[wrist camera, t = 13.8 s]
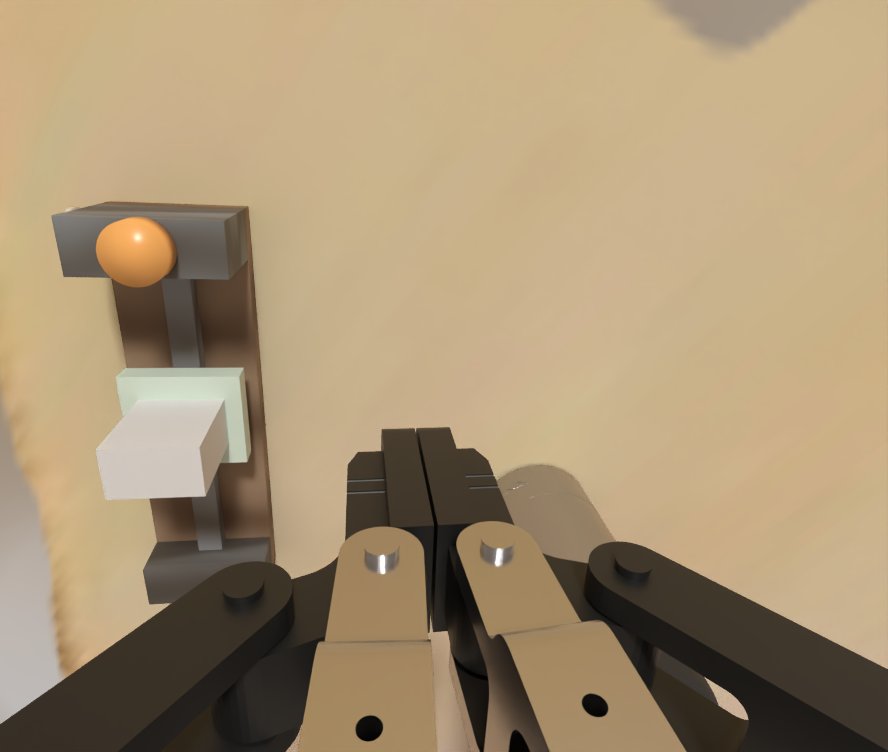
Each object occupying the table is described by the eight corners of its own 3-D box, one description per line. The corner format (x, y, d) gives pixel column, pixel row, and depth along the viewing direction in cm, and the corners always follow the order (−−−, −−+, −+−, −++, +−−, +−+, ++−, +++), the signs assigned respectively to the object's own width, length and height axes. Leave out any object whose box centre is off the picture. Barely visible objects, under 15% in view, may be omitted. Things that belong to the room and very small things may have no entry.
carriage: (125, 368, 35) (67, 423, 28) (243, 367, 36) (216, 421, 29) (140, 453, 37) (90, 524, 30) (251, 450, 38) (227, 518, 31)
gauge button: (103, 215, 28) (90, 219, 26) (172, 217, 28) (163, 221, 27) (114, 280, 29) (102, 286, 28) (180, 281, 29) (171, 287, 28)
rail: (103, 199, 34) (43, 213, 27) (248, 204, 35) (223, 218, 29) (164, 561, 44) (131, 632, 38) (275, 555, 45) (261, 624, 39)
